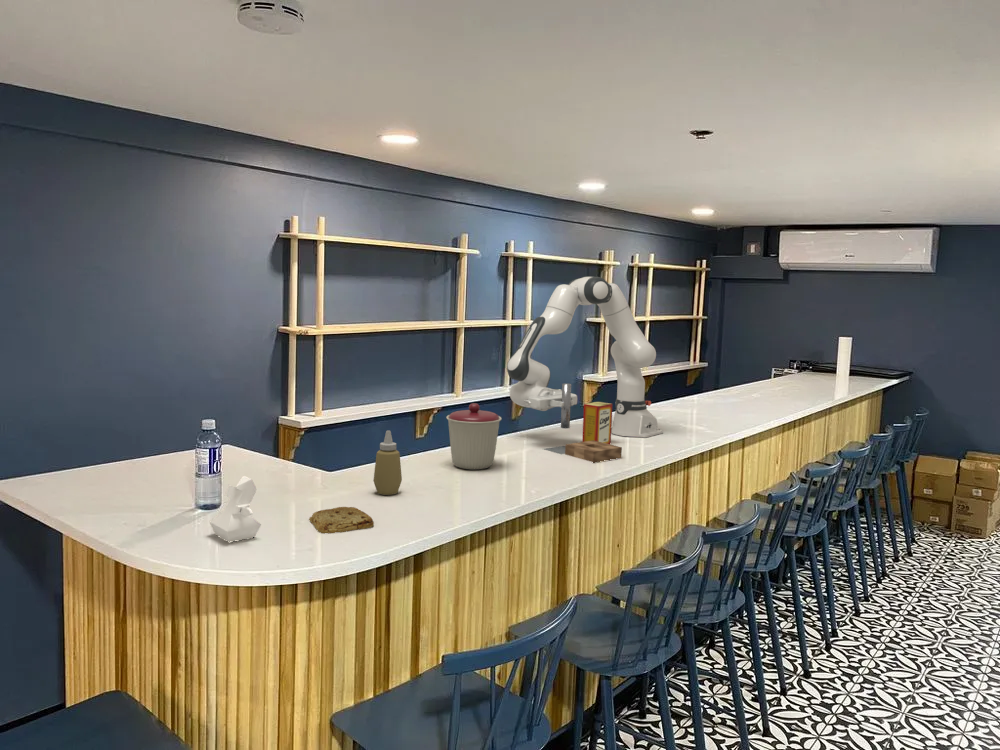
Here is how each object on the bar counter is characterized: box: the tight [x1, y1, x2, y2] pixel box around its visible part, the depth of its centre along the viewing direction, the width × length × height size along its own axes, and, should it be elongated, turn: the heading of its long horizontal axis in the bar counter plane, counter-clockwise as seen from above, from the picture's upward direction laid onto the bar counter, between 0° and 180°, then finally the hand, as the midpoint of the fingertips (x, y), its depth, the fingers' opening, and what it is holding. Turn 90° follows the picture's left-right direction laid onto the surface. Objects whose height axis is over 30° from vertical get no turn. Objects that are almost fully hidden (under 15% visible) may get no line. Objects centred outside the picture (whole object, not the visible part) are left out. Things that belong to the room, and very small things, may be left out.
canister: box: [445, 402, 502, 471], centre depth 260 cm, size 18×18×21 cm
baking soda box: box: [581, 401, 613, 445], centre depth 302 cm, size 10×6×16 cm
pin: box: [560, 383, 572, 429], centre depth 288 cm, size 3×3×16 cm
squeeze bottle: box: [373, 430, 403, 496], centre depth 225 cm, size 8×8×18 cm
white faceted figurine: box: [209, 475, 262, 542], centre depth 184 cm, size 8×14×14 cm, turn 44°
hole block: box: [564, 440, 622, 464], centre depth 281 cm, size 14×14×4 cm
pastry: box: [308, 506, 375, 534], centre depth 197 cm, size 17×17×3 cm
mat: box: [543, 445, 565, 455], centre depth 290 cm, size 12×10×1 cm
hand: (567, 403), depth 287 cm, fingers closed on pin, 3 cm apart
